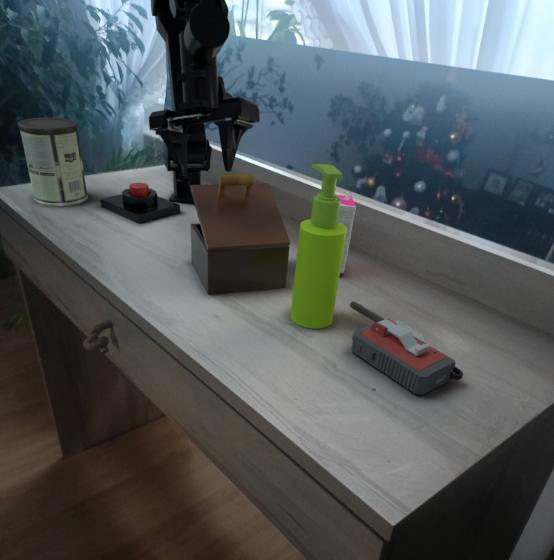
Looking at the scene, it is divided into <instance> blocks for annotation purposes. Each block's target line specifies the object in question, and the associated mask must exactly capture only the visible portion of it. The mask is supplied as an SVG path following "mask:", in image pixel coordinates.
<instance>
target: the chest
mask: <svg viewBox="0 0 554 560" xmlns="http://www.w3.org/2000/svg"><path fill="white" fill-rule="evenodd" d="M190 252H191V255H190V257H191V265H192V267H193V268H194V271H195V272H196V273H195V274H196V275H197V277H198V278H199V280H200V283H201V284H202V286H203V288H204V290H205V292H206V294H207V295H209V296H210V295H219V294H220V295H222V294H231V293H242V292H243V293H244V292H251V291H253V292H254V291H263V290H272V289H273V290H274V289H283V288H286V287H287V278H288V269H289V257H290V245H289V246H275V247H260V248H245V249H231V250H216V251H207V247H206V244H205V240H204V236H203V233H202V229H201V226H200V222H199V223H190Z"/></svg>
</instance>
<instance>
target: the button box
mask: <svg viewBox="0 0 554 560" xmlns="http://www.w3.org/2000/svg"><path fill="white" fill-rule="evenodd" d="M99 201H100V207H101V208H102V209H104V210H107V211H109V212H111V213H113V214H116V215H117V216H120V217H123V218H124V219H127V220H129V221H131V222H133V223H136V224H138V225H141V224H145V223H149V222H152V221H156V220H160V219H163V218H168V217H172V216H174V215H179V214H181V204H178V203H177V202H174V201H169V199H165V198H163V197H160V196H159V195H158V192H157V190H155V189H152V188H149V195H146V196H134V195H130V189H129V188H125V189H124V190H122V191H121V194H116V195H112V196H107V197H102V198H100V199H99Z"/></svg>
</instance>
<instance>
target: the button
mask: <svg viewBox="0 0 554 560" xmlns="http://www.w3.org/2000/svg"><path fill="white" fill-rule="evenodd" d="M128 189H130V195H134V196H146V195H149V189H150V188H149V184H147V183H146V182H145V183H144V182H132V183H130V184H129V185H128Z"/></svg>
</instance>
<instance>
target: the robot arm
mask: <svg viewBox="0 0 554 560" xmlns="http://www.w3.org/2000/svg"><path fill="white" fill-rule="evenodd" d="M150 12H151V16H152V17H154V21H155V28H156V31H157V33H158V34H159V36H160V37H161V39H162V40H163V41H164V43H165V46H166V47H165V48H166V57H167V66H168V75H169V76H168V77H169V86H170V96H171V105H172V109H161V110H156V111H155V110H154V111H152V112H151V113H150V115H149V116H148V126H149V131H152V132H155V135H156V136H159V137H160V138H161V140H162V142H163V143H164V151H163V152H164V153H163V157H164V158H163V159H164V167H165V168H166V171H167V172H172V184H173V186H172V187H173V193H172V194H171V195H170V197H168V200H169V201H171V202H174V203H185V204H194V200H193V197H192V193H191V189H190V186H191V185H202V172H209V170H211V160H212V159H211V158H212V153H213V147H212V146H211V144H210V140H209V138H207V135H206V127H205V126H206V125H205V124H208V123H209V124H210V123H213V124H214V125H215V126H216V127H217V128H218V135H219V142H220V150H221V156H222V163H223V166H224V172H226V173H231V172H232V169H233V166H234V163H235V159H236V155H237V153H238V152H237V151H238V148H239V145H240V142H241V139H242V137H244V135H245V134H246V132H247V131H248V130H251V129H252V128H253V127H254V125H253V124H255V123H259V122H260V121H261V120H260V109H259V106H258V104H257V103H256V102H255V101H252V100H249V99H247V98H244V97H240V96H236V97H234V96H233V95H232V94H231V93H229V92H227V90H226V88H225V81H224V77H222V76H220V75H219V69H218V65H219V64H218V54H219V53H220V51H221V50H222V49H223V47H224V45H225V43H226V41H227V40H228V38H229V35H230V31H231V23H230V20H229V7H228V4H227V2H226V0H150ZM194 205H195V204H194Z"/></svg>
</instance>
